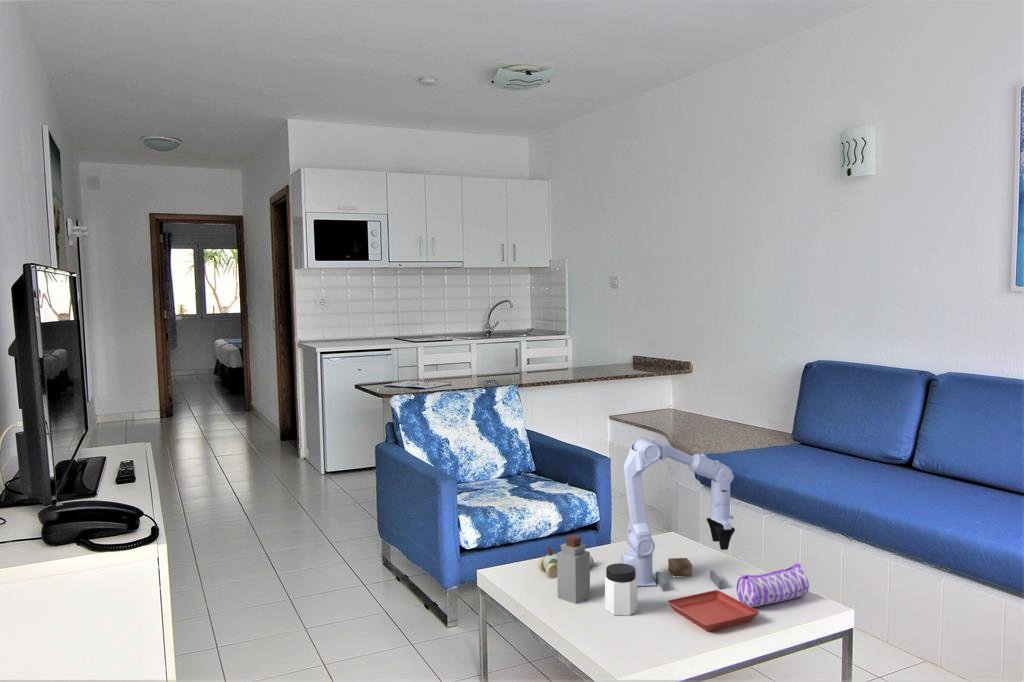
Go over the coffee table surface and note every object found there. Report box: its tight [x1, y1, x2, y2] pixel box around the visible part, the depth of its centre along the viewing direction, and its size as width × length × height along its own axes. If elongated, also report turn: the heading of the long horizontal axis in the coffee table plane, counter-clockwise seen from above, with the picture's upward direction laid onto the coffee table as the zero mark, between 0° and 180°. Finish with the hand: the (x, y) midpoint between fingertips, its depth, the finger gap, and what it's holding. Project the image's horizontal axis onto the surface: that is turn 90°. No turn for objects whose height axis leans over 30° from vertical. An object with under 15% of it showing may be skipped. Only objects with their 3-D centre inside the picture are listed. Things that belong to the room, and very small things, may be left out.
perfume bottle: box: [556, 534, 591, 605], centre depth 226 cm, size 7×7×18 cm
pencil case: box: [735, 562, 810, 608], centre depth 222 cm, size 22×9×10 cm, turn 118°
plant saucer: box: [666, 589, 760, 632], centre depth 212 cm, size 18×18×3 cm
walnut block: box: [667, 557, 693, 578], centre depth 245 cm, size 6×6×4 cm
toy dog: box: [537, 546, 595, 579], centre depth 249 cm, size 12×19×9 cm, turn 135°
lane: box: [655, 569, 723, 592], centre depth 235 cm, size 18×9×2 cm, turn 93°
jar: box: [604, 562, 638, 617], centre depth 217 cm, size 9×8×12 cm
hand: (720, 545), depth 241 cm, fingers open, 7 cm apart
